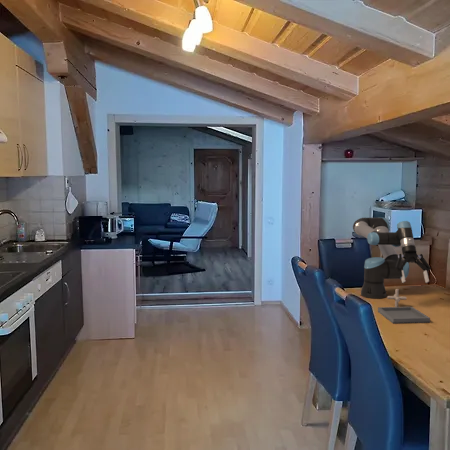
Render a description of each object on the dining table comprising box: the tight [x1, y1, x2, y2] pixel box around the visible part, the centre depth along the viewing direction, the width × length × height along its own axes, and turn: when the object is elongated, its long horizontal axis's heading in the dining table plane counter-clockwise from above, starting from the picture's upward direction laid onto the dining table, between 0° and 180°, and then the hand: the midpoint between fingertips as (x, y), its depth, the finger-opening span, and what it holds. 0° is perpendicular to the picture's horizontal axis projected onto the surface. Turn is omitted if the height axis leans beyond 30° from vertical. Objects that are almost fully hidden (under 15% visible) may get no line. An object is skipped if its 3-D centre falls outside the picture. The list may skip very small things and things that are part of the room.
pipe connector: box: [386, 288, 407, 307], centre depth 262 cm, size 10×10×10 cm
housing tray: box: [377, 306, 431, 325], centre depth 243 cm, size 20×19×2 cm
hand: (415, 282), depth 257 cm, fingers open, 13 cm apart
